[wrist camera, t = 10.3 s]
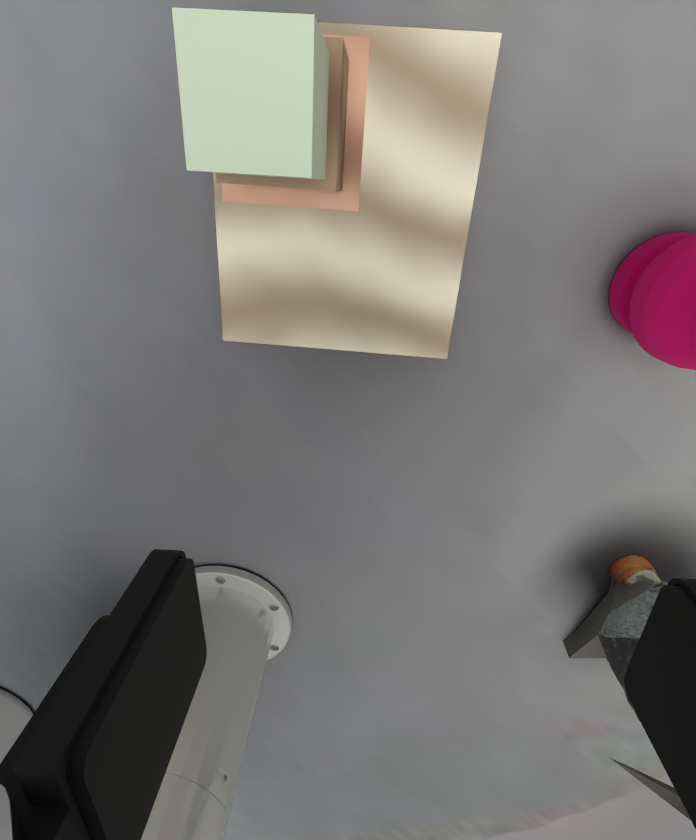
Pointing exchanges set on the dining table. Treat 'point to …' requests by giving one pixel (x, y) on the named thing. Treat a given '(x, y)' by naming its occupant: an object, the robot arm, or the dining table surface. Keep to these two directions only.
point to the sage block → (252, 92)
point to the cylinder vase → (11, 720)
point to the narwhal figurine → (623, 636)
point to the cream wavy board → (369, 206)
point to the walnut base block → (334, 131)
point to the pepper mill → (659, 297)
